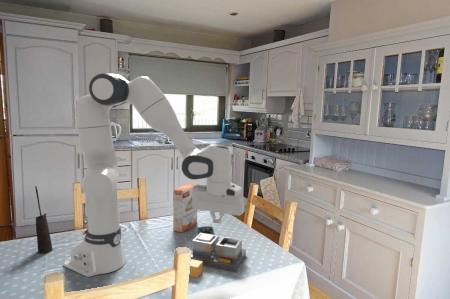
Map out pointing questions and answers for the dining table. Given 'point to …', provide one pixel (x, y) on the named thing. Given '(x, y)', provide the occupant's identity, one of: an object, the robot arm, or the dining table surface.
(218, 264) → the twin switch block
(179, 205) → the cracker box
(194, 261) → the orange cube
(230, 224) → the dining table surface
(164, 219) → the dining table surface
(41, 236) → the butter churn
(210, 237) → the breaker
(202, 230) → the digital multimeter
